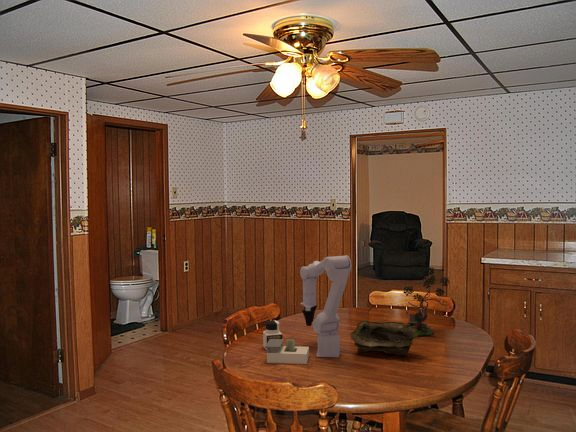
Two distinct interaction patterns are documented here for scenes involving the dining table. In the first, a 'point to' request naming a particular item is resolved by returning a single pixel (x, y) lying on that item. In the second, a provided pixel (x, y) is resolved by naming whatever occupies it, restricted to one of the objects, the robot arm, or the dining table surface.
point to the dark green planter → (384, 337)
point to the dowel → (290, 345)
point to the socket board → (285, 353)
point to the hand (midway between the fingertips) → (309, 323)
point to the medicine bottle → (271, 332)
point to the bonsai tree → (419, 318)
